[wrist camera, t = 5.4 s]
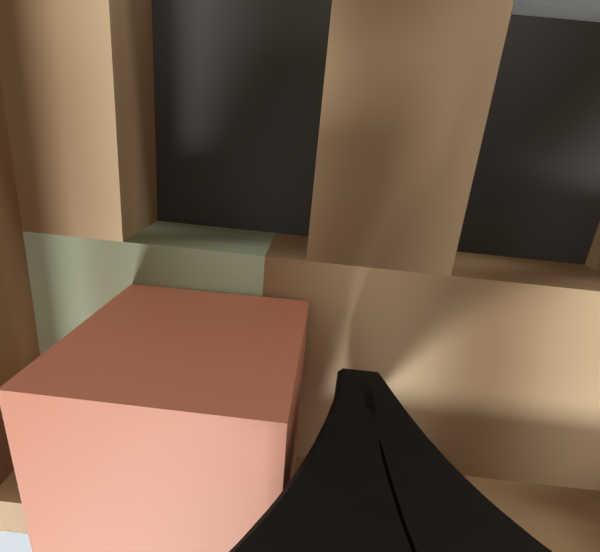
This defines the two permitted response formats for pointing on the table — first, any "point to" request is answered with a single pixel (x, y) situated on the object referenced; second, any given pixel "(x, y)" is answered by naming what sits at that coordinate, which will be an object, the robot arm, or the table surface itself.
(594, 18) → the table surface
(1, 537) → the table surface
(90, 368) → the clay-red block
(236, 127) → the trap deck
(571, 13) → the table surface
